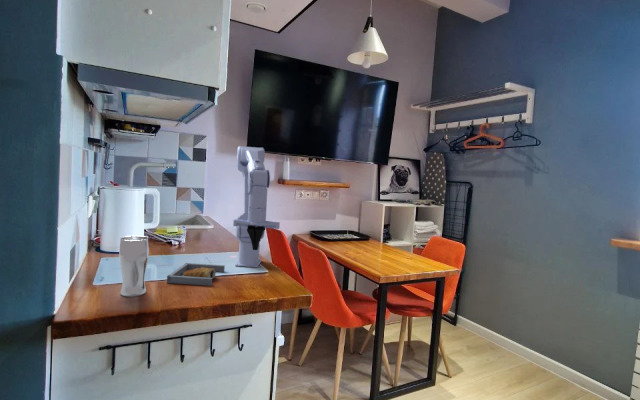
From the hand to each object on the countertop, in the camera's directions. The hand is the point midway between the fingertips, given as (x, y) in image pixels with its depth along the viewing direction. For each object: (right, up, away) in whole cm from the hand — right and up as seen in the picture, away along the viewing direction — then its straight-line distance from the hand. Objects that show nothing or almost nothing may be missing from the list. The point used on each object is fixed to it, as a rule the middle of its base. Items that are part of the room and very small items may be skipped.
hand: (255, 249), depth 117 cm
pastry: (-16, -9, -4) cm, 19 cm away
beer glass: (-29, -9, -19) cm, 36 cm away
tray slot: (-17, -8, -2) cm, 19 cm away
